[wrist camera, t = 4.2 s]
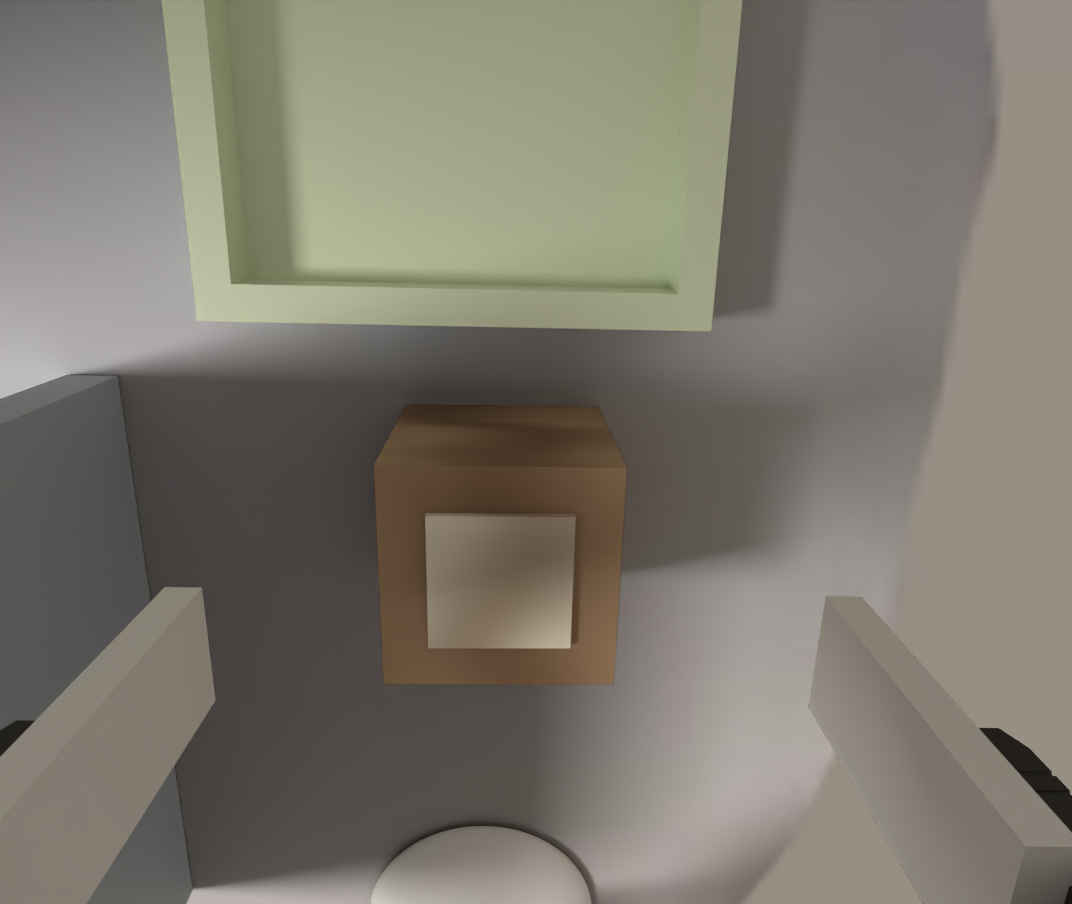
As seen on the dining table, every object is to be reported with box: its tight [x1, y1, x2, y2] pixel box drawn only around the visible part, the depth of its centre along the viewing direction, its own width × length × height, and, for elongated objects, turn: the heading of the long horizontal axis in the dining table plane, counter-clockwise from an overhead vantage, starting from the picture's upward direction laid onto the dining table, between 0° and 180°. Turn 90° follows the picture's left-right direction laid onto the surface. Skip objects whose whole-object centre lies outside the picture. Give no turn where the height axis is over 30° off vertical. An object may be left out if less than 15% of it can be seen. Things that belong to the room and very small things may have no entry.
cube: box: [374, 404, 627, 685], centre depth 21 cm, size 6×6×6 cm
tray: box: [161, 0, 743, 331], centre depth 19 cm, size 14×14×2 cm
